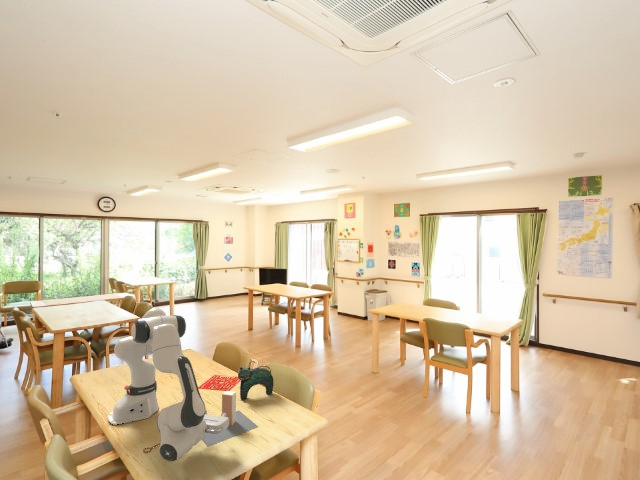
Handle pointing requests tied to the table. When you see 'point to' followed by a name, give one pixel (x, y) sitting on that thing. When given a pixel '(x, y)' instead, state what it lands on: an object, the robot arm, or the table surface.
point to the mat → (231, 430)
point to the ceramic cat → (254, 379)
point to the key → (151, 448)
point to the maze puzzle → (220, 383)
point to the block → (229, 406)
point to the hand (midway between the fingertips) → (215, 413)
